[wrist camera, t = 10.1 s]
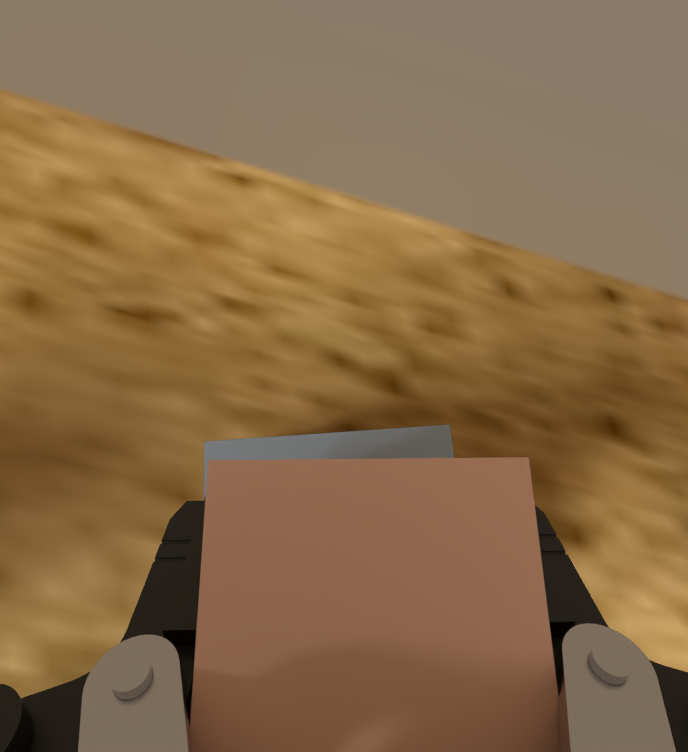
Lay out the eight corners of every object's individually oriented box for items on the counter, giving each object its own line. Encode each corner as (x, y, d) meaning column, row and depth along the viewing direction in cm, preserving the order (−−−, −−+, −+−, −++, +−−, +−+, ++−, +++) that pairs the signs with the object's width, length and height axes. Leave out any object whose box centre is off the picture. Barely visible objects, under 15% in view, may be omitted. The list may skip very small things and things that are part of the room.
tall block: (263, 665, 13) (180, 870, 6) (269, 487, 15) (208, 460, 7) (435, 660, 14) (578, 852, 6) (425, 485, 15) (528, 457, 7)
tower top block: (227, 686, 18) (202, 734, 14) (226, 454, 21) (204, 441, 17) (454, 663, 19) (488, 703, 15) (426, 440, 21) (449, 424, 17)
